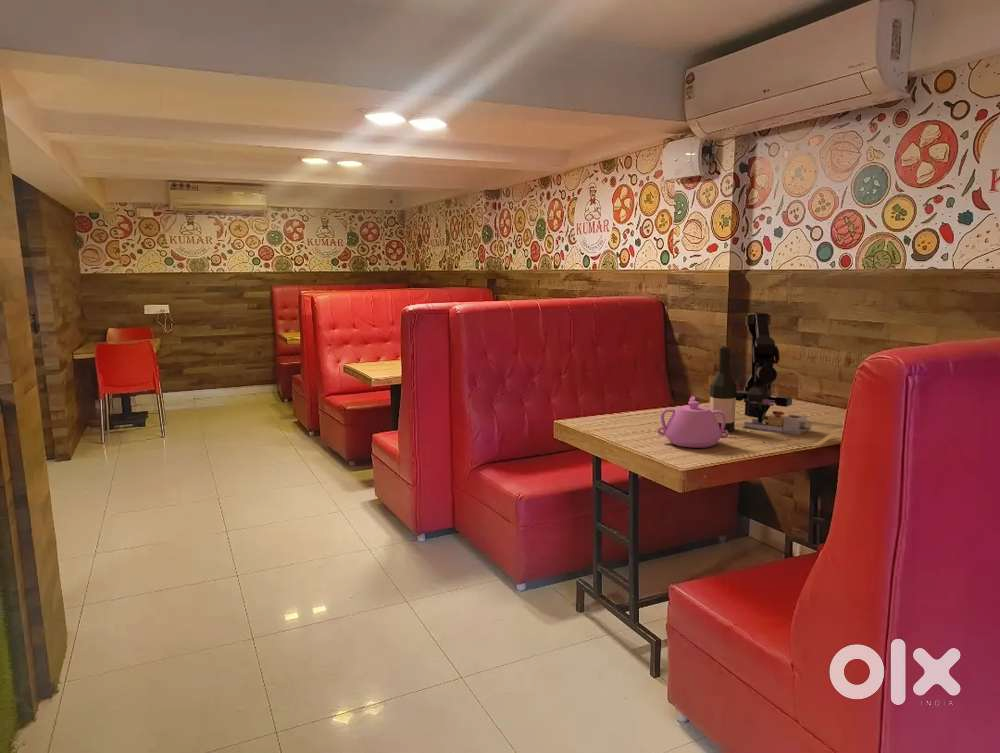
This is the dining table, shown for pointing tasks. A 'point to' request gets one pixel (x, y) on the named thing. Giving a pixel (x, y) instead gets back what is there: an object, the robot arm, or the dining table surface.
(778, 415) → the valve
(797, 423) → the grey metal channel
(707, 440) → the purple lidded pot
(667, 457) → the dining table surface
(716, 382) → the wine bottle
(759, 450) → the dining table surface
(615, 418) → the dining table surface
